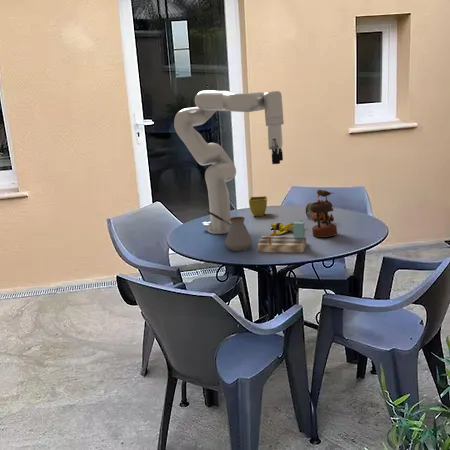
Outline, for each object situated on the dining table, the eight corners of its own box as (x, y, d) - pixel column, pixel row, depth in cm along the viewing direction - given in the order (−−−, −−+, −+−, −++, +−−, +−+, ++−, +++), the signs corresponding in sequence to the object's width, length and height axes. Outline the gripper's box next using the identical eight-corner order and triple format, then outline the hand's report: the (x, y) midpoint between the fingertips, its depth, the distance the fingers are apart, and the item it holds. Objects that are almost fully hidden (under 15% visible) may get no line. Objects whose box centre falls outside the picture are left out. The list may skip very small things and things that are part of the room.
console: (258, 251, 214) (257, 237, 212) (263, 243, 225) (263, 229, 223) (302, 252, 209) (302, 237, 207) (306, 243, 220) (305, 229, 218)
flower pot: (251, 213, 278) (250, 196, 276) (268, 212, 277) (267, 195, 275) (249, 217, 270) (248, 200, 268) (266, 216, 269) (266, 199, 266)
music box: (322, 229, 238) (321, 186, 233) (343, 232, 231) (343, 188, 226) (302, 237, 228) (301, 192, 223) (324, 241, 220) (323, 194, 215)
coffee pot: (258, 246, 221) (256, 211, 217) (243, 254, 212) (240, 218, 208) (217, 240, 233) (214, 207, 230) (201, 248, 225) (198, 213, 221)
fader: (294, 241, 213) (293, 223, 211) (295, 238, 216) (294, 221, 214) (303, 241, 212) (303, 223, 210) (304, 238, 215) (304, 221, 213)
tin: (305, 218, 260) (304, 201, 258) (310, 217, 261) (310, 200, 259) (324, 224, 247) (323, 207, 245) (329, 223, 248) (329, 205, 246)
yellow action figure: (283, 215, 251) (307, 218, 240) (284, 223, 252) (309, 226, 241) (255, 229, 240) (279, 234, 229) (256, 237, 241) (280, 242, 230)
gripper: (268, 121, 230) (271, 160, 234) (262, 123, 214) (265, 165, 218) (285, 119, 228) (288, 158, 232) (280, 122, 212) (284, 164, 216)
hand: (277, 162), depth 225 cm, fingers open, 9 cm apart
